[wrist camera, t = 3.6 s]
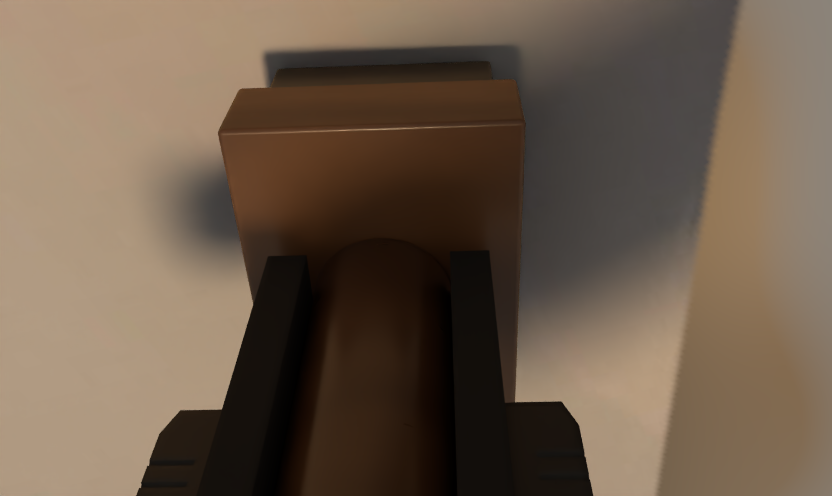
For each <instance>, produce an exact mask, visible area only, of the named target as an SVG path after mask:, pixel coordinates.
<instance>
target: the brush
mask: <svg viewBox="0 0 832 496" xmlns="http://www.w3.org/2000/svg"><path fill="white" fill-rule="evenodd" d="M525 128H526V123H525V118H524V114H523V109H522V105H521V100H520V96H519V91H518V87H517V83H516V81H515V80H513V79H503V80H493V79H492V72H491V66H490V63H489V62H487V61H482V62H454V63H427V64H399V65H372V66H344V67H316V68H289V69H278V70H277V72H276V74H275V77H274V79H273V82H272V84H271V86H270V88H248V89H240V90H239V91H238V93H237V95H236V97H235V99H234V101H233V103H232V105H231V107H230V109H229V111H228V113H227V115H226V117H225V119H224V121H223V123H222V125H221V127H220V129H219V131H218V136H219V141H220V146H221V151H222V155H223V160H224V165H225V170H226V175H227V179H228V184H229V189H230V194H231V199H232V204H233V208H234V213H235V218H236V223H237V228H238V233H239V237H240V242H241V247H242V252H243V257H244V262H245V266H246V271H247V276H248V281H249V286H250V290H251V295H252V300H253V304H254V301H255V298H256V294H257V291H258V288H259V284H260V281H261V278H262V274H263V271H264V268H265V264H266V261H267V258H268V256H293V255H307V262H308V268H309V275H310V282H311V288H312V295H313V304H312V309H311V314H310V319H309V324H308V329H307V334H306V339H305V344H304V349H303V354H302V359H301V364H300V369H299V374H298V379H297V384H296V389H295V394H294V399H293V404H292V409H291V414H290V419H289V424H288V429H287V434H286V439H285V444H284V449H283V454H282V459H281V464H280V469H279V474H278V479H277V484H276V489H275V494H274V496H457V475H456V442H455V410H454V377H453V344H452V311H451V273H450V251H481V250H489V253H490V262H491V272H492V282H493V291H494V301H495V311H496V321H497V330H498V340H499V350H500V359H501V369H502V379H503V388H504V398H505V403H510V402H515V389H516V363H517V337H518V311H519V284H520V258H521V232H522V206H523V180H524V154H525Z"/></svg>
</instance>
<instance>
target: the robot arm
mask: <svg viewBox="0 0 832 496" xmlns="http://www.w3.org/2000/svg"><path fill="white" fill-rule="evenodd" d="M450 273H451V311H452V344H453V377H454V410H455V442H456V475H457V496H593V492H592V487H591V482H590V480H589V473H588V468H587V463H586V458H585V456H584V448H583V443H582V438H581V433H580V428H579V424H578V423H577V422H576V420H575V419H574V418H573V416H572V415H571V414H570V412H569V411H568V410H567V408H566V407H565V406H564V404H563V403H562V402H510V403H505V398H504V388H503V379H502V369H501V359H500V350H499V340H498V330H497V321H496V311H495V301H494V291H493V282H492V272H491V262H490V253H489V250H481V251H450ZM312 304H313V295H312V288H311V282H310V275H309V268H308V262H307V255H293V256H268V258H267V261H266V264H265V268H264V271H263V274H262V278H261V281H260V284H259V288H258V291H257V294H256V298H255V301H254V304H253V308H252V311H251V314H250V318H249V321H248V324H247V328H246V331H245V334H244V338H243V341H242V344H241V348H240V351H239V355H238V358H237V361H236V365H235V368H234V371H233V375H232V378H231V381H230V385H229V388H228V391H227V395H226V398H225V401H224V405H223V408H222V410H181V411H179V413H178V414H177V415H176V416H175V417H174V418H173V419H172V420H171V422H170V423H169V424H168V425H167V426H166V427H165V428H164V430H163V431H162V432H161V433H160V434H159V437H158V439H157V442H156V445H155V447H154V450H153V453H152V455H151V458H150V464H149V466H147V469H146V471H145V474H144V477H143V479H142V482H141V484H142V485H141V488H139V490H138V493H137V495H136V496H274V494H275V489H276V484H277V479H278V474H279V469H280V464H281V459H282V454H283V449H284V444H285V439H286V434H287V429H288V424H289V419H290V414H291V409H292V404H293V399H294V394H295V389H296V384H297V379H298V374H299V369H300V364H301V359H302V354H303V349H304V344H305V339H306V334H307V329H308V324H309V319H310V314H311V309H312Z"/></svg>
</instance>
